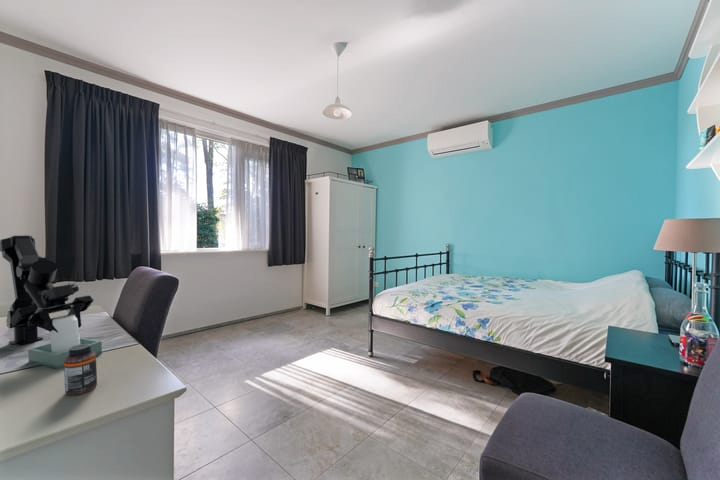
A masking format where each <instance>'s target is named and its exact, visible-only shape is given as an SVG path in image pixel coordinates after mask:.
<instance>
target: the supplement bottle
mask: <svg viewBox="0 0 720 480" xmlns="http://www.w3.org/2000/svg"><path fill="white" fill-rule="evenodd" d="M63 368H64V369H63V371H64V374H63V375H64V388H65V389H64V390H65V391H64V392H65V394H66V395H67V396H79V395H83V394H84V393H88V392H91V390H93V389H95V388H96V387H97V385H98V376H97V375H98V373H97V372H98V371H97V370H98V369H97V355H96V354H95V352H93V351H91V345H90V344H80V345H76V346H73V347H71V348H69V356H68V357H67V358H65V360H64V367H63Z"/></svg>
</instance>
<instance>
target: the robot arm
mask: <svg viewBox="0 0 720 480" xmlns="http://www.w3.org/2000/svg"><path fill="white" fill-rule="evenodd" d="M0 252H1V255H2V259H4V260H6V261H7V262H8V263H9V265H10V270H11V278H12V279H11V280H12V285H13V291H14V298H15V300H14V301H13V303H12V304H11V306H10V307H9V311H8V312H7V316H6V327H7V328H8V329H13V336H14V337H13V340H10V341H9V342H8V344H10V345H11V344H12V345H17V346H22V345H25V344H29V343H34V342H37V341H40V340H44V337H42V336H39V328H40V329H42V330H46V331H48V332H49V333H50V332H51V331H52V330H54V331H56V332H58V331H57V330H56V329H55V327H54V326H53V321H52V320H51V319H52V318H51V316H50V314H54V313H57V312H58V313H59V312H65V311H67V315H72V314H75V317H76V318H77V320H78V327H79V329H80V328H81V327H82V320H81V317H82V316H81V313H83V312H84V311H87V310H88V308H89V307H90V306H91V305H92V304H93V302H94V298H93V297H92V296H91V295H87V294H86V295H83V296H76V297H75V298H74V299H73V301H72V302H69V303H66V302H68V301H69V299H70V298H69V297H70V296H72V295H74V294H76V293H78V292H79V290H80V289H79V286H78V284H77V283H76V282H69V283H67V284H64V285H57V286H54V285H53V284H52V283H53V281H54V280H55V277H56V275H57V271H58V264H57V263H56V262H54V261H53V260H49V259H47V257H43V256H40V255H39V253H38V251H37V249H36V240H35V238H33V236H32V235H30V234H29V235H27V234H26V235H25V234H24V235H13V236H10V237H7V238H1V239H0Z"/></svg>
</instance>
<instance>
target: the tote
mask: <svg viewBox="0 0 720 480" xmlns="http://www.w3.org/2000/svg"><path fill="white" fill-rule="evenodd" d="M80 344H90V345H91V351H93V352H95V354H96V356H97V355H98V356H99V355H101V354H103V349H102V347H103V344H102V340H97V339H91V338H85V337H82V336H80ZM27 351H28V352H27V354H28V355H27V356H28V357H27V358H28V359H27V360H28V363H31V364H35V365H40V366H44V367H48V368H52V369H55V370H58V369H61V368H64V360H65V358H67V357H68V356H69V351H66V352H63V353H60V354H56V353H52V349H51V342H49V343H46V344H42V345H39V346H36V347H31V348H28V349H27Z"/></svg>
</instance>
